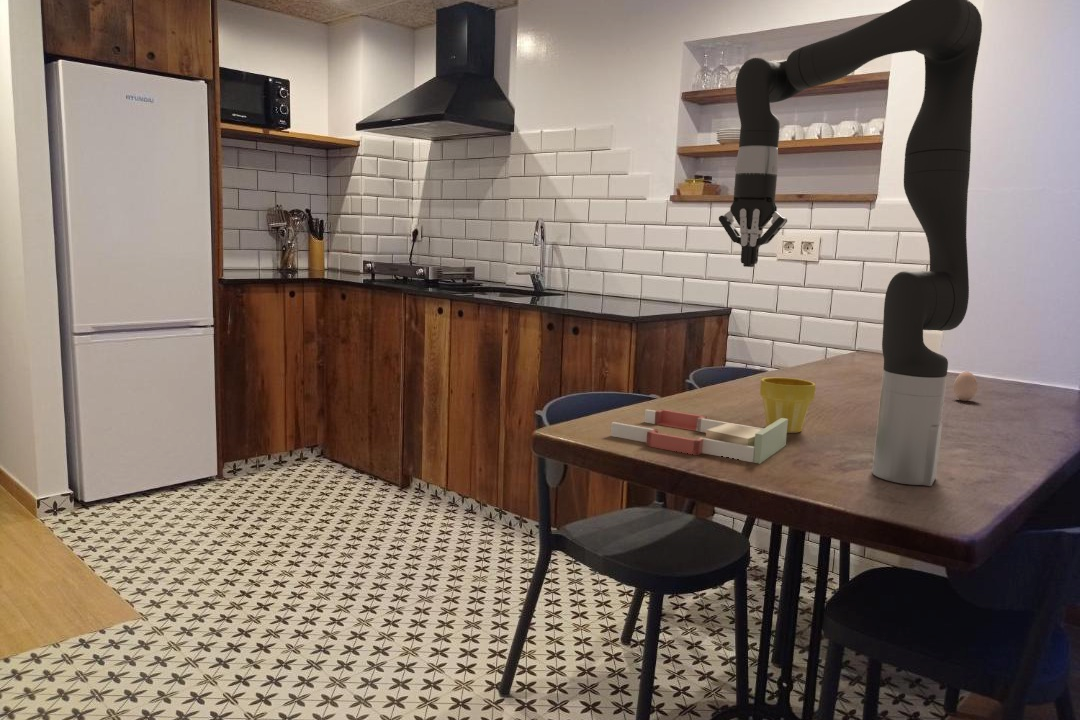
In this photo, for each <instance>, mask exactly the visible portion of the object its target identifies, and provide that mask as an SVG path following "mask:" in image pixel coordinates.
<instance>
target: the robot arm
mask: <svg viewBox="0 0 1080 720" xmlns="http://www.w3.org/2000/svg"><path fill="white" fill-rule="evenodd" d="M982 31H983V21H982V16H981V12H980V11H979V9H978V7H977V6H976V5H975V4H974V3H973V2H972V1H969V0H908V1H906V2H904V3H903V4H900V5H899V6H896V7H895V8H893V9H891V10H889V11H888V12H886V13H884V14H881V15H879V16H876V17H875V18H873V19H871V20H870V21H867V22H865V23H863V24H861V25H858V26H856V27H854V28H852V29H850V30H847V31H844V32H842V33H840V34H837V35H833V36H831V37H828V38H825V39H822V40H819V41H815V42H813V43H810V44H806V45H805V46H802V47H799V48H797V49H794V50H793V51H792V52H791V53H790V54H789V55H788V56H787V59H786V60H784V61H779V62H774V61H772V60H768V59H764V58H762V57H753V58H750V59H748V60H746V61H745V62H744V63H743V64H742V65H741V67H740V68H739V71H738V73H737V75H736V80H735V97H736V104H737V110H738V111H737V112H738V116H739V122H740V130H739V131H740V132H739V142H738V152H737V157H736V163H735V169H734V171H735V175H734V176H735V177H734V185H733V187H734V188H733V189H734V191H733V201H732V203H731V205H730V208H729V210H728V211H727V212H725V214H722V215H720V216H719V217H718V221H719V223H720V225H722V227H723V229H724V230H725V232H726V234H727V235H728V236H729V238H730V239H731V241H732V243H735V244H739V246H741V251H740V252H741V253H740V262H741V264H742V266H743V267H744V268H754V267H755V265H757V264H758V259H759V252H760V251H759V250H760V247H761V246H763V245H766V244H767V245H768V244H769V243H770V242H771V241H772V240H773V239H774V238H775V236H776V235H777V234H779V231H781V230H782V229H783V227H785V225H786V224H787V223H788V219H787V217H783V216H782V215H781V214H780V213H779V212H778V211H777V210H778V207H777V205H776V192H777V180H778V178H777V177H778V169H779V149H778V148H779V141H780V140H779V139H780V130H781V129H780V127H781V125H780V124H781V123H780V119H779V118H778V116H776V115H775V114H774V113H773V112H772V110H771V104H772V103H778V102H782V101H785V100H789V99H790V98H791V97H794V96H795V95H798V94H800V93H802V92H803V91H804V90H806V89H811V88H814V87H817V86H821V85H825V84H828V83H830V82H831V83H832V82H834V81H837V80H839V79H842V78H845V77H847V76H849V75H850V74H852V73H853V72H855V71H857V70H859V69H860V68H861V67H863V66H864V65H865V64H867V63H869V62H871V61H874V60H876V59H878V58H881V57H884V56H888V55H892V54H893V55H894V54H898V53H905V52H917V53H918V54H921V55H923V57H924V72H925V73H924V93H923V99H922V102H921V105H920V108H919V110H918V113H917V115H916V117H915V120H914V122H913V125H912V127H911V129H910V132H909V135H908V138H907V141H906V144H905V152H904V165H903V189H904V193H905V196H906V198H907V201H908V202H909V205H910V207H911V209H912V211H913V213H914V214H915V216H916V218H917V221H918V222H919V224H920V226H921V228H922V229H923V231H924V234H925V237H926V240H927V244H928V253H929V271H928V270H903V271H900V272H898V273H896V274H895V275H894V276H893V277H892V278H891V280H890V281H889V283H888V285H887V288H886V292H885V295H884V303H883V323H882V326H883V327H882V338H881V339H882V341H881V342H882V343H881V351H882V356H883V370H882V376H881V377H882V378H881V388H880V393H879V394H880V396H879V403H878V413H877V423H876V424H877V425H876V433H875V441H874V450H873V451H874V452H873V458H872V468H871V470H872V471H871V473H872V475H874V476H875V477H877V478H880V479H882V480H885V481H888V482H893V483H898V484H902V485H903V484H904V485H913V486H914V485H915V486H919V485H920V486H927V487H932V486H933V484H934V482H935V481H936V478H937V473H938V472H937V471H938V462H939V454H940V446H941V445H940V444H941V437H942V431H943V420H942V417H943V409H944V408H943V407H944V401H945V394H946V385H947V377H948V376H947V375H948V369H949V360H948V359H947V357H946V356H944V355H943V354H940V353H937V352H935V351H933V350H932V349H930V348H929V347H928V346H927V345H926V344H925V343H924V331H951V330H953V329H956V328H958V327H959V325H960V324H961V323H962V322H963V320H964V319H965V316H966V313H967V311H968V306H969V297H970V285H969V284H970V281H969V263H968V259H969V258H968V246H967V245H968V243H967V224H968V223H967V222H968V221H967V216H968V193H969V182H970V169H971V153H972V152H971V151H972V150H971V149H972V139H971V138H972V125H973V123H972V122H973V121H972V120H973V91H974V90H973V89H974V82H975V74H976V69H977V63H978V56H979V51H980V44H981V41H982V33H983V32H982ZM734 220H735V221H736V223H737V225H738V226H739V228H740V229H739V231H738V229H737V228H736V227H735V225H734V222H735V221H734ZM770 221H771V225H770V226H769V228H767V230H766V231H765V232H763V231H764V228H765V226H767V225H768V223H770Z"/></svg>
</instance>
